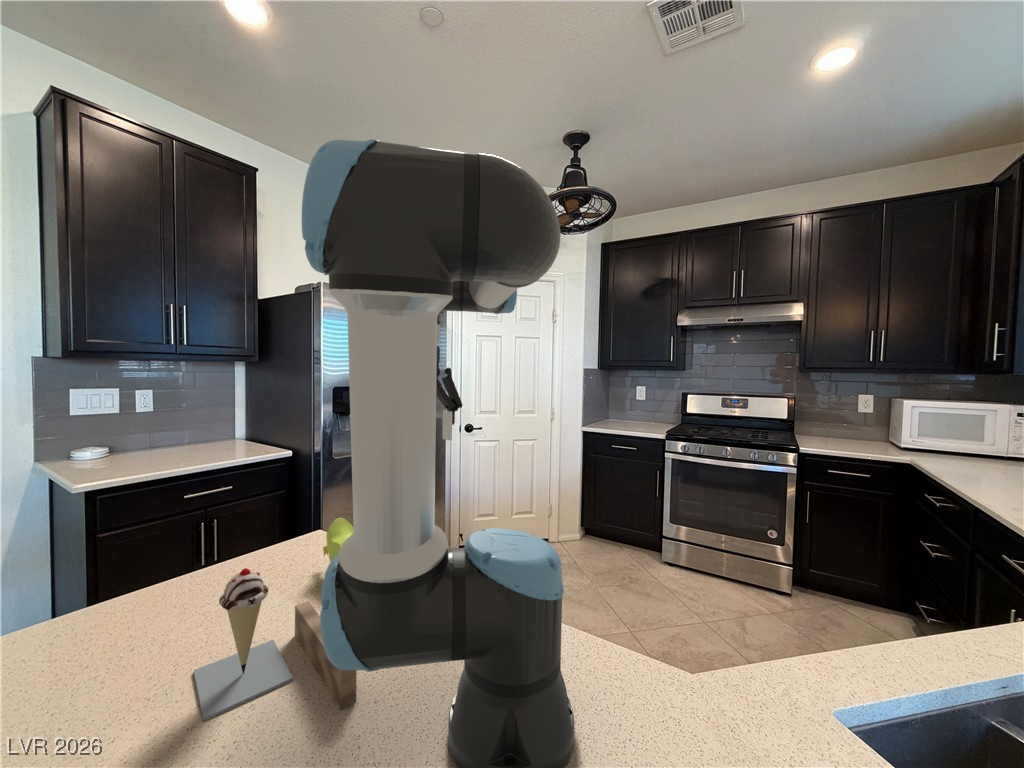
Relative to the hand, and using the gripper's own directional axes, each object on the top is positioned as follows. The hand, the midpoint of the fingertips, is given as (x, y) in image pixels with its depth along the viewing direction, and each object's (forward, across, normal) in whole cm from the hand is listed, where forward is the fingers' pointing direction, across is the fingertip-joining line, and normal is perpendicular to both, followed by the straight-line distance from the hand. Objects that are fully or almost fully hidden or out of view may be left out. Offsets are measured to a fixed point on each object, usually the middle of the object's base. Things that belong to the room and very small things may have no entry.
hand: (420, 442), depth 87 cm
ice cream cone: (+28, +34, +10) cm, 45 cm away
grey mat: (+29, +34, +10) cm, 46 cm away
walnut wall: (+29, +25, +15) cm, 41 cm away
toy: (+29, +12, -6) cm, 32 cm away
